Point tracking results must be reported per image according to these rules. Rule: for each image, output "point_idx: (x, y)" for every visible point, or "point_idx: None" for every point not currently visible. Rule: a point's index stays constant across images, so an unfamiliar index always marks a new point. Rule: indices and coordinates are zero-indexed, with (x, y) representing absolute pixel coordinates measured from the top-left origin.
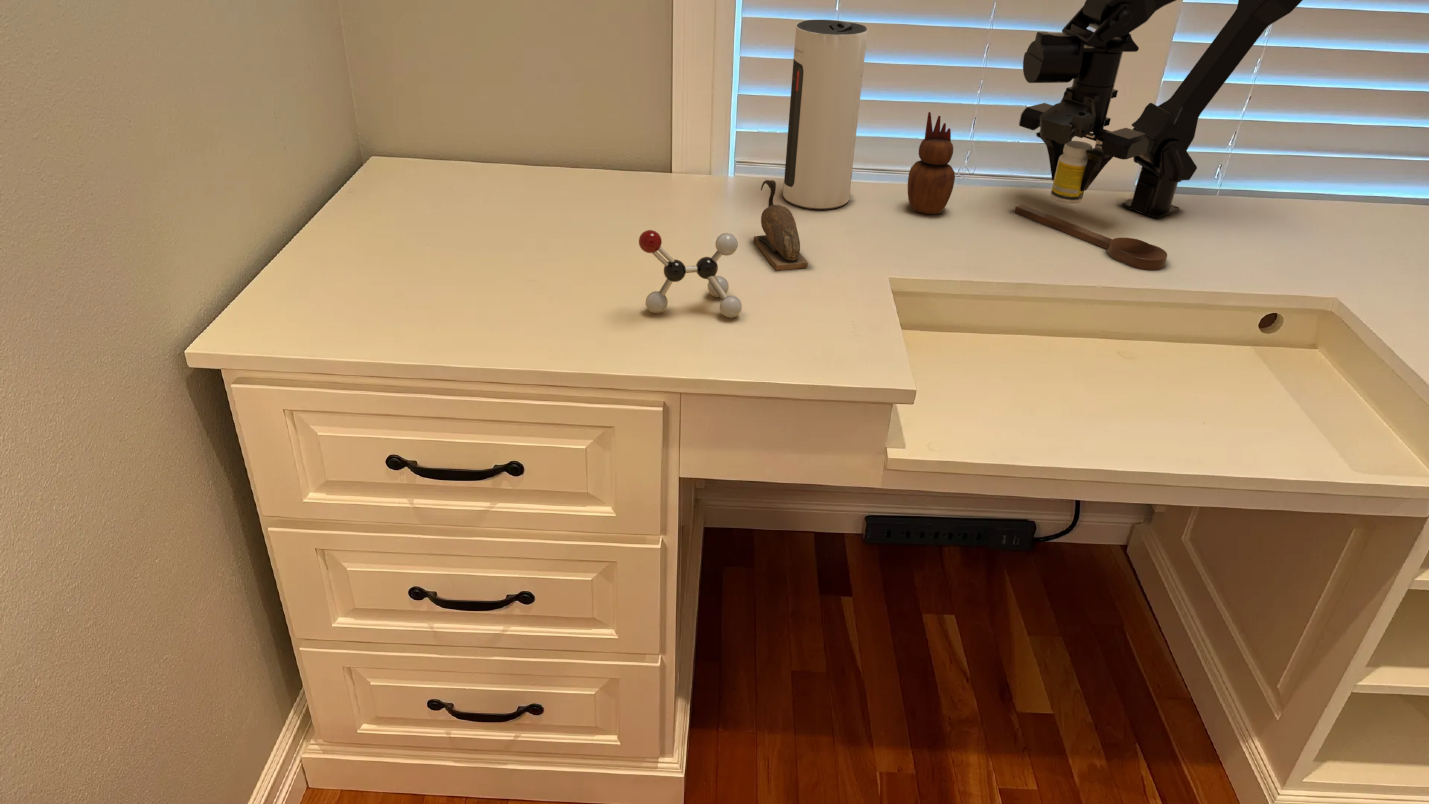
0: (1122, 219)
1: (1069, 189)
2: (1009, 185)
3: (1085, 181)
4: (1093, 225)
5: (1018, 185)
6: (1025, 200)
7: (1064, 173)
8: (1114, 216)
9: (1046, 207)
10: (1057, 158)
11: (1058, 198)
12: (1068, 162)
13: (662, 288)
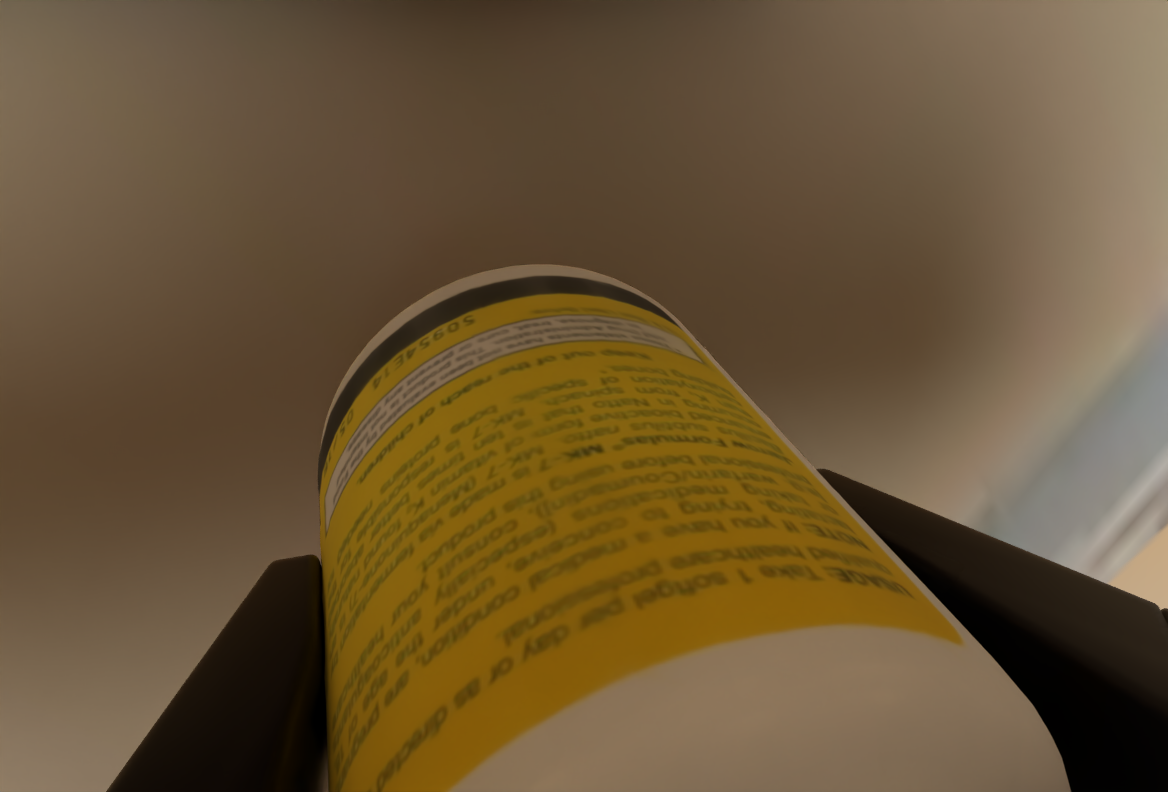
0: (52, 742)
1: (409, 409)
2: (1133, 392)
3: (209, 674)
4: (6, 383)
5: (1078, 458)
6: (890, 252)
7: (623, 485)
8: (152, 721)
9: (659, 303)
10: (1057, 722)
11: (506, 277)
12: (702, 706)
13: None
